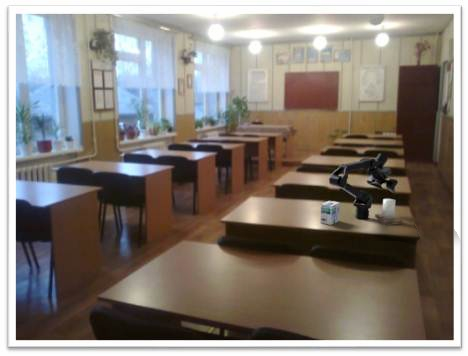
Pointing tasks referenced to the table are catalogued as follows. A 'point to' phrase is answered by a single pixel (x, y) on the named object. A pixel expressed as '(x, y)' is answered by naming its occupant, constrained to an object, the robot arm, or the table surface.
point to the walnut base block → (388, 220)
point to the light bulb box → (330, 212)
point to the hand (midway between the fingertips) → (388, 190)
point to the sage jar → (388, 208)
